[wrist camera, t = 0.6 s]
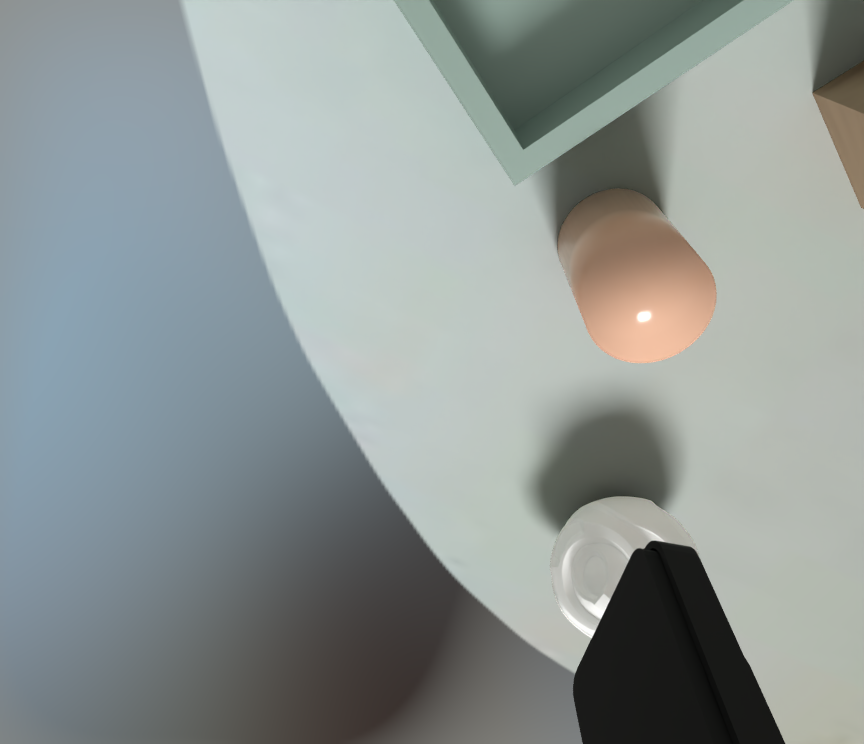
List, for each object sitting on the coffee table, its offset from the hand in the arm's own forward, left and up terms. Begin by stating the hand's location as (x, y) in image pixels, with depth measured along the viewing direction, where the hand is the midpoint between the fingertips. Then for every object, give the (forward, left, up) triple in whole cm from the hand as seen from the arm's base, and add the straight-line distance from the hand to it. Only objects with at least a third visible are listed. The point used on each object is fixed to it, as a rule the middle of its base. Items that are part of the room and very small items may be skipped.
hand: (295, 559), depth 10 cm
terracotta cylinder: (-6, +10, -26) cm, 28 cm away
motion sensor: (+2, +25, -26) cm, 36 cm away
